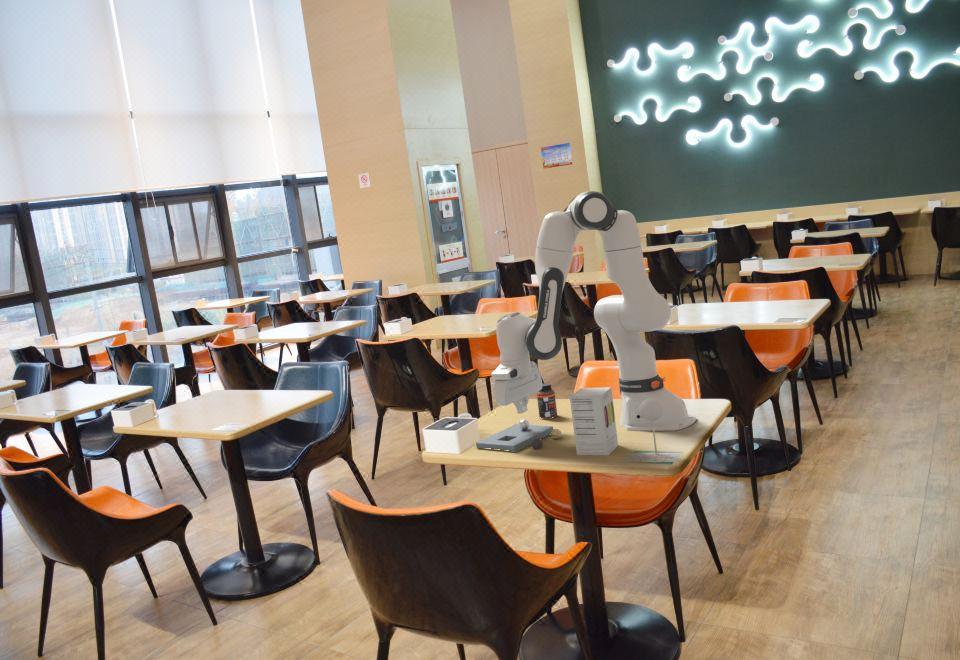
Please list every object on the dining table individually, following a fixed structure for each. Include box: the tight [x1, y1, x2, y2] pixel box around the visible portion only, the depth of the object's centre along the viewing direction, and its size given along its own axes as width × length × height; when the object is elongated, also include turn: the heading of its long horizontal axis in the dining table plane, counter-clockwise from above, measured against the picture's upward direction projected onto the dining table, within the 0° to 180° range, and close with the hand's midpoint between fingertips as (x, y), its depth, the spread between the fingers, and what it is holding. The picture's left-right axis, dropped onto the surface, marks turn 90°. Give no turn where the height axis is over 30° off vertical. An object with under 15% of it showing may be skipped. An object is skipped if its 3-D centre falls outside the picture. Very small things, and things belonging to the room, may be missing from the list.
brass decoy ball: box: [550, 428, 563, 440], centre depth 234 cm, size 3×3×3 cm
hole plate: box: [475, 423, 554, 452], centre depth 237 cm, size 20×14×2 cm
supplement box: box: [569, 386, 619, 456], centre depth 217 cm, size 10×9×17 cm
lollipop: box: [639, 398, 663, 455], centre depth 207 cm, size 6×6×15 cm
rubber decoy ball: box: [531, 439, 544, 450], centre depth 227 cm, size 3×3×3 cm
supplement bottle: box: [536, 382, 558, 419], centre depth 260 cm, size 6×6×11 cm
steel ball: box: [518, 419, 530, 430], centre depth 240 cm, size 3×3×3 cm
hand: (522, 412), depth 240 cm, fingers closed
